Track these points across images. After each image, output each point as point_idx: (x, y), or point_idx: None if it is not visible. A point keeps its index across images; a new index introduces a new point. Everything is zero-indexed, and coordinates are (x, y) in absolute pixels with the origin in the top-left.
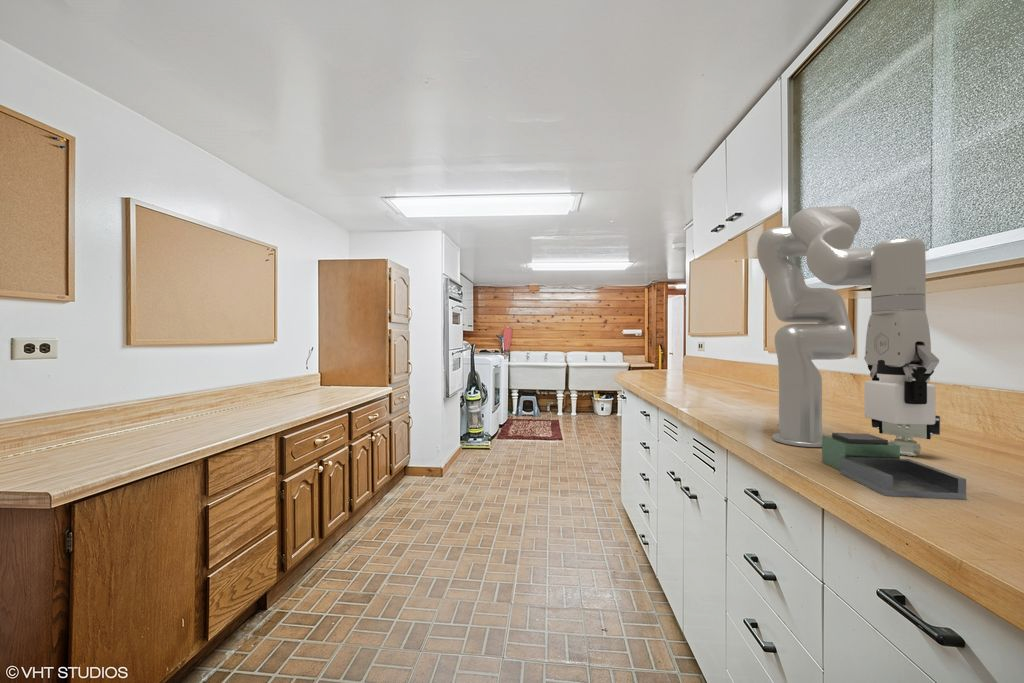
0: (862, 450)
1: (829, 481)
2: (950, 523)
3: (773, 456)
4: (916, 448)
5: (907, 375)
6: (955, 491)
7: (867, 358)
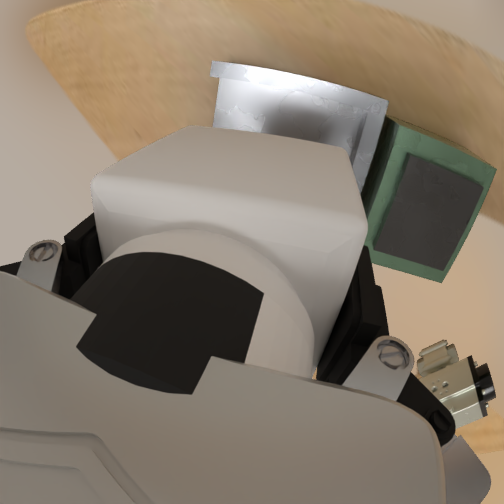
0: (381, 165)
1: (325, 21)
2: (114, 71)
3: None
4: (421, 364)
5: (46, 267)
6: None
7: (401, 455)
